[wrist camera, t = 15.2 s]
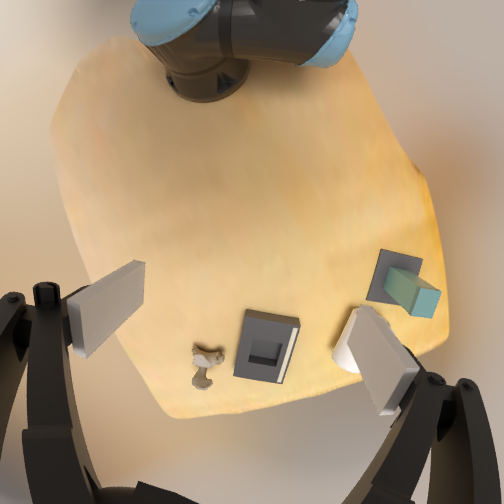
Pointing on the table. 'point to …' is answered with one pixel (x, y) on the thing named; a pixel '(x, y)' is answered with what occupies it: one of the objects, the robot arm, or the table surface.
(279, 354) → the grey socket block
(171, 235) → the table surface
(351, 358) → the mug
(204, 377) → the bone
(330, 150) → the table surface
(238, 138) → the table surface
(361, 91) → the table surface
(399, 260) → the mat
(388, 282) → the plug
